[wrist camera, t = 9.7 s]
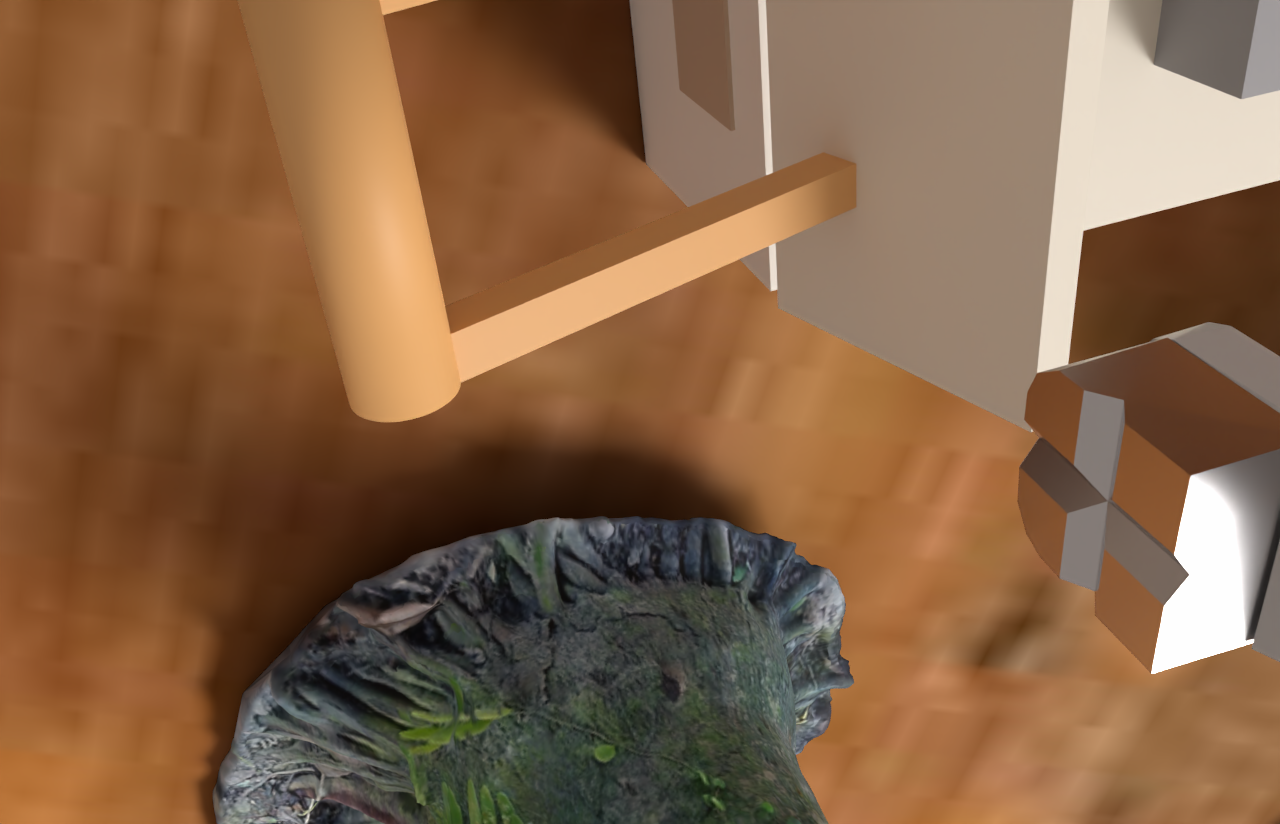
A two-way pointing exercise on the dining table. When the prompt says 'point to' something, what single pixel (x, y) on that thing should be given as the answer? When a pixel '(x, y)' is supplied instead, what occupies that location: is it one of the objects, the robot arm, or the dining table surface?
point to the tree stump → (552, 685)
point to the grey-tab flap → (1184, 105)
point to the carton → (706, 99)
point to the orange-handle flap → (735, 197)
